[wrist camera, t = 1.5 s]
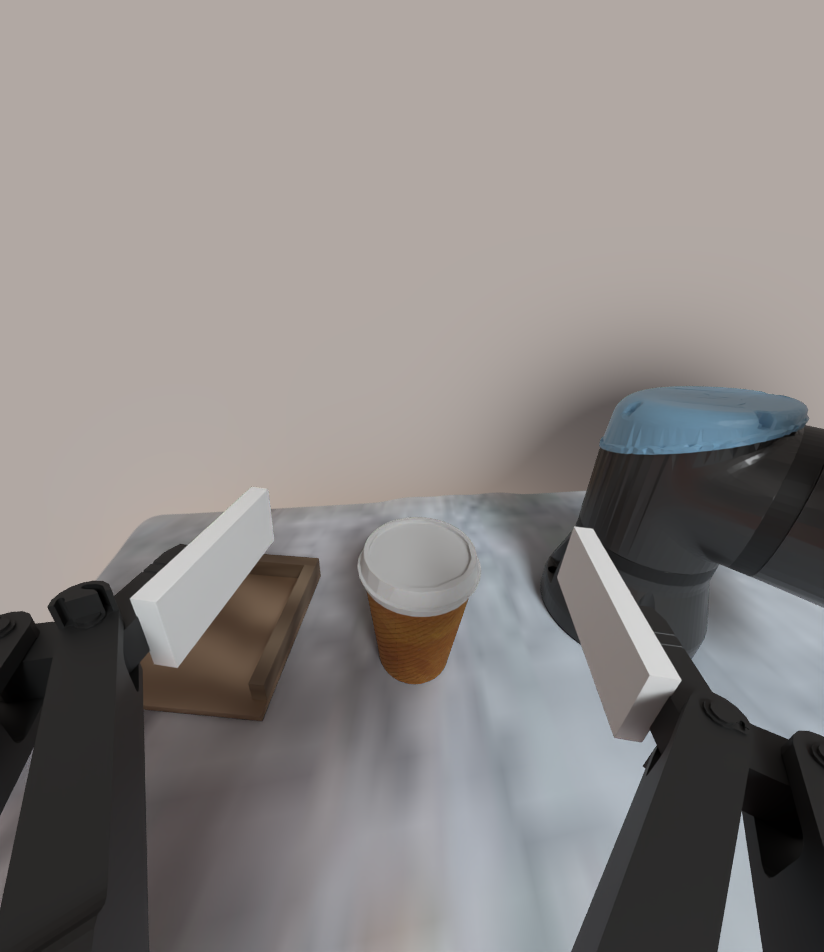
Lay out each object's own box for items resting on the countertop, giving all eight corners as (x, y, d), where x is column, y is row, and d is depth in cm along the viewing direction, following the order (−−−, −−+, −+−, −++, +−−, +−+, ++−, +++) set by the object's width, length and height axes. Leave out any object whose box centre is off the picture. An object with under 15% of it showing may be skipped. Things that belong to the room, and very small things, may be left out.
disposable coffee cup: (356, 705, 29) (350, 598, 23) (365, 609, 37) (362, 513, 32) (474, 703, 29) (496, 598, 24) (457, 609, 38) (471, 514, 32)
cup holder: (262, 721, 28) (256, 701, 26) (69, 702, 28) (54, 682, 27) (320, 575, 41) (318, 558, 40) (189, 565, 42) (182, 547, 41)
